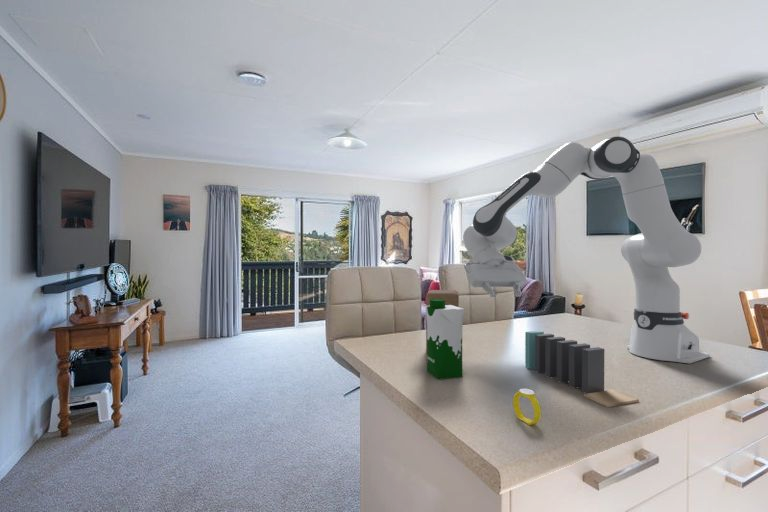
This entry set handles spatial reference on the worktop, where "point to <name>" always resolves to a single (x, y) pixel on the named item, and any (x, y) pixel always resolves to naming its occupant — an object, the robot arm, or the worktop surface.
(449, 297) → the block
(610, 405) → the coaster
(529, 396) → the watch
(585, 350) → the domino
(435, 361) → the milk carton
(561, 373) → the domino
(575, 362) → the domino
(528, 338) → the domino
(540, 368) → the domino
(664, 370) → the worktop surface
